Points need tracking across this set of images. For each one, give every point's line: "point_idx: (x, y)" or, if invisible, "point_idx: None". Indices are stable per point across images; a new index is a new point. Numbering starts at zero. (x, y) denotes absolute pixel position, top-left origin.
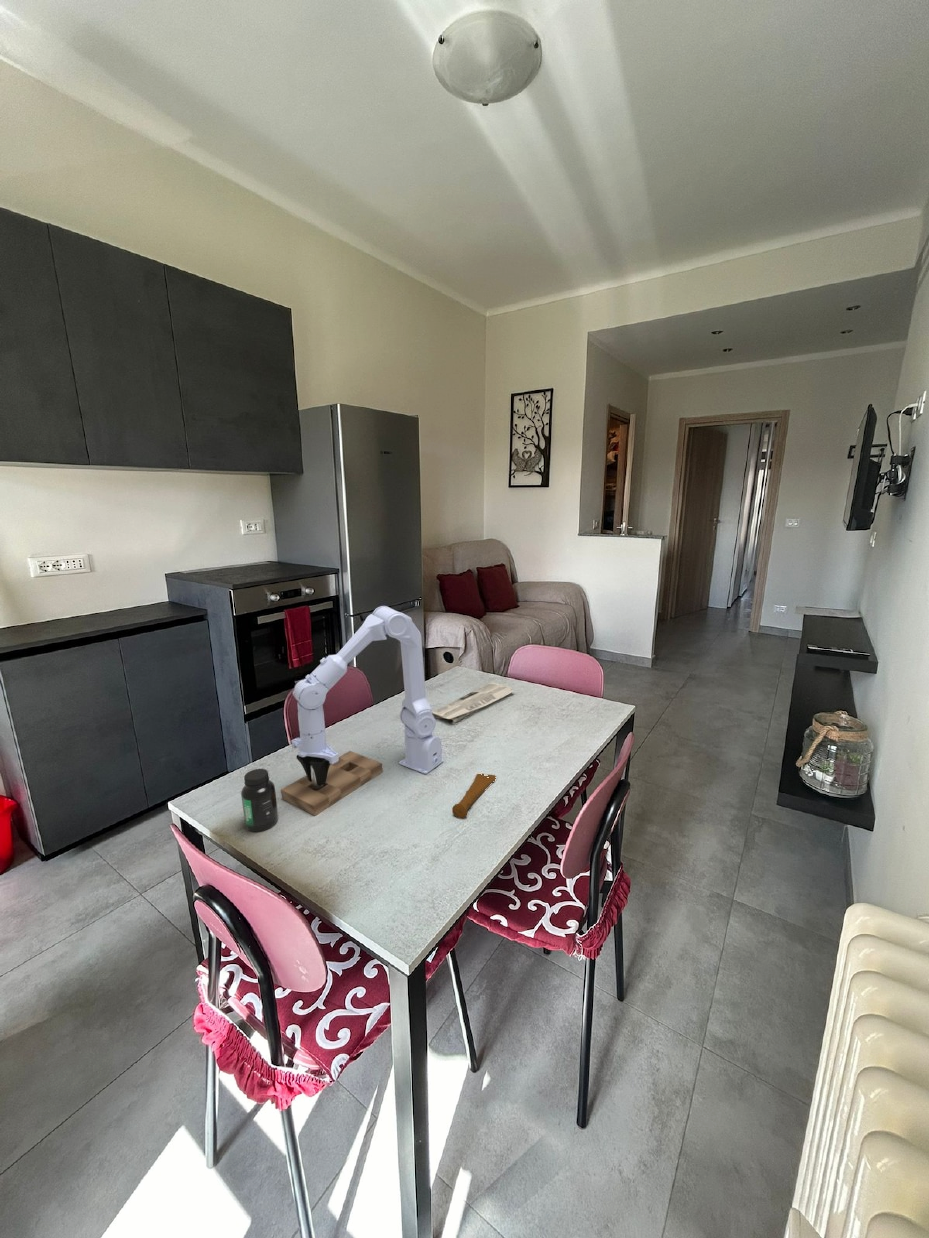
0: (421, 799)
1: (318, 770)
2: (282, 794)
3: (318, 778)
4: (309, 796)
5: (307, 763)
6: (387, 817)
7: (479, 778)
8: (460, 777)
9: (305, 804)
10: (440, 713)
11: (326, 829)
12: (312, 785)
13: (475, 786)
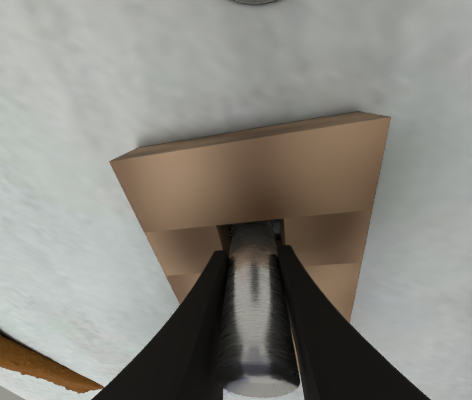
0: (71, 327)
1: (140, 355)
2: (362, 115)
3: (195, 284)
4: (201, 187)
5: (308, 369)
6: (31, 268)
7: (79, 385)
8: (107, 376)
9: (175, 147)
10: None
11: (32, 133)
12: (257, 235)
13: (49, 378)
